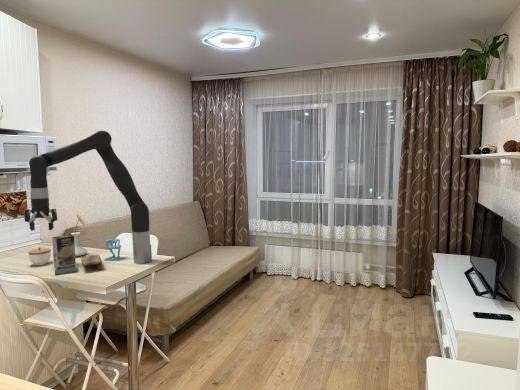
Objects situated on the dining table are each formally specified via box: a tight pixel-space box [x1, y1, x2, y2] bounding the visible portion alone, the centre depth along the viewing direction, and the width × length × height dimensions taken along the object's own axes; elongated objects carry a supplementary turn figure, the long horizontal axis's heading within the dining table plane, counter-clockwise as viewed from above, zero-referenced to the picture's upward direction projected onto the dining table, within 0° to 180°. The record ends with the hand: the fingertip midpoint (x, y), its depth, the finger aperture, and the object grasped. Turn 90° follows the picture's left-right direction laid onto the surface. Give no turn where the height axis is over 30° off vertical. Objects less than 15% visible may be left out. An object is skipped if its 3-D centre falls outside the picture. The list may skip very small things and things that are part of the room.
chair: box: [103, 238, 122, 262], centre depth 210 cm, size 8×8×12 cm
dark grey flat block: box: [54, 263, 78, 276], centre depth 187 cm, size 10×8×2 cm
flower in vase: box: [70, 213, 88, 257], centre depth 219 cm, size 13×11×25 cm
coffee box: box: [51, 234, 77, 268], centre depth 198 cm, size 9×6×16 cm
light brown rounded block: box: [80, 254, 103, 271], centre depth 193 cm, size 9×16×5 cm, turn 28°
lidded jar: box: [27, 247, 52, 266], centre depth 202 cm, size 11×11×9 cm
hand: (41, 230), depth 178 cm, fingers open, 8 cm apart
